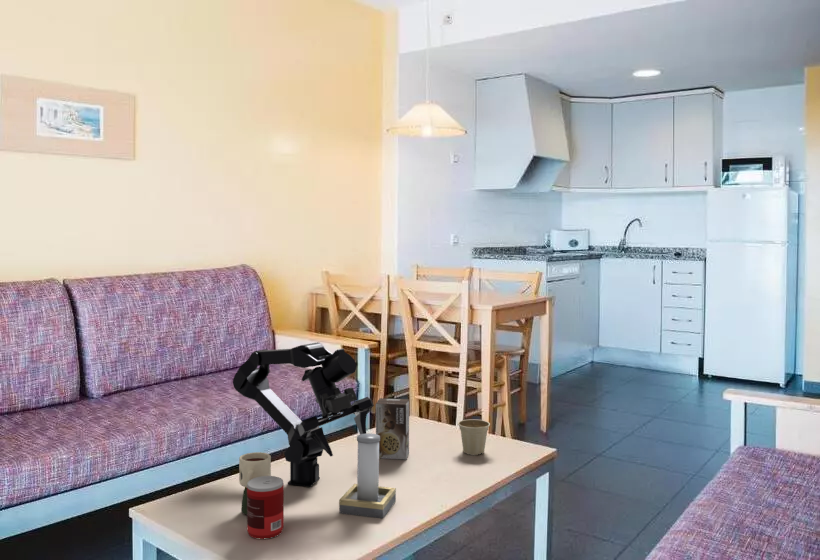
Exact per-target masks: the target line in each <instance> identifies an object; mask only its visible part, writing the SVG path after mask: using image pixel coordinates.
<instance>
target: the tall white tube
mask: <svg viewBox="0 0 820 560" xmlns="http://www.w3.org/2000/svg"><path fill="white" fill-rule="evenodd" d="M356 441H357V467H356V468H357V476H356V477H357V479H356V482H357V483H356V484H357V500H363V501H372V502H375V501H377V500H378V490H379V481H380V480H379V479H380V476H379V475H380V473H379V472H380V471H379V470H380V458H379V441H380V436H379V435H377V434H376V433H367V432H366V434H360V433H359V434H358V435H357V436H356Z"/></svg>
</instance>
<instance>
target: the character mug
mask: <svg viewBox="0 0 820 560" xmlns="http://www.w3.org/2000/svg"><path fill="white" fill-rule="evenodd" d="M238 459H239V460H238V464H239V465H238V466H239V467H238V468H239V469H238V471H239V475H238V476H239V479H238V483H239V484H240V485H241V486H242V487H244V489H243V492H242V498H241V499H242V500H241V508H240V509H241V513H242V514H245V515H247V483H248V482H249V481H250V480H251V479H254V478H257V477H261V476H272V474H271V473H272V472H271V471H272V470H271V469H272V462H271V461H272V460H271V459H272V457H271V454H269V453H268V452H267V453H266V452H261V451H257V452H248V453H245V454H242V455H240V456H239V458H238Z"/></svg>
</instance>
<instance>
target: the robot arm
mask: <svg viewBox="0 0 820 560" xmlns="http://www.w3.org/2000/svg"><path fill="white" fill-rule="evenodd" d="M287 364H289V365H292V366H293V367H297V368H300V369H301V368H302V369H305V370H304V373H303V375H302V377H301V381H302V382H305V381H309V385H310V386H311V389H312V391H313V394H314V396H315V403H316V404H318V407H319V410H320V412H321V417H319V418H317V416H316V415H315V416H312V417H309V418H306V419H304V420H301V418H299V417H298V416H297V414H295V412H293V411H292V410H291V409H290V408H289V406H288V405H287V404H286V403H285V402H284V401H283V400H282V399H281V398H280V397H279V396H278V395H277V394H276V393H275V392H274V391H273V390H272V389H271V388H270V383H269V382H270V381H269V378H268V376H269V374H270V373H271V371H270V365H287ZM311 367H312V368H313V369H311ZM306 368H310V369H306ZM356 370H357V363H356V360H355V359H354V358H353V357H352V355H351V354H349V353H347V352H345V350H344V348H339V349H337V350H335V351H334V352H331V351H330V350H329V349H327V348H325V346H324V345H323V343H321V342H319V341H318V342H313V343H307V344H301V345H297V346H295V347H291V348H282V349H277V348H276V349H266V348H265V349H260V350H259V349H258V350H255V351H253V352H251V353H250V356H249V357H248V359H246V361H245V362H244V363H243V364H242V365H241V366H239V367H238V369H237V371H236V373H234V377H233V378H232V385H233V387H234V390H235V391H236V392H238V393H239V394H240V395H241V396H243V397H245V398H248V399H250V400H253V401H255V402H256V403H257V404H258V405H259V406H260V407H261V409H263V410H264V411H265V412H266V413H267V414H268V415H269V417H270V418H271V420H273V421H274V422H275V423H276V424H277V425H278V427H280V429H282V430H283V432H284V433H285V434H286V435H287V440H288V445H289V447H288V448H287V449H286V450H285V451H284V453H283V455H284V459H285V461H286V462H289V463H290V464H289V465H290V466H289V467H290V469H289V470H290V473H289V474H290V475H289V477H290V478H289V481H288V482H287V485H289V486H290V485H291V486H297V487H298V486H299V487H309V488H310V487H313V486H314V485H315V484H316V483H317V482H319V480H321V479H320V464H319V463H318V457H321V456H322V455H323V452H324V451H325V453H327V454H328V455H329V457H333V456H334V453H333V451H332V449H331V446H330V443H329V441H328V440H327V438H326V435H325V433H324V428H323V427H321V426H323V425H326V424H329V423H332V422H335V421H337V420H340V419H342V418H346V417H348V416H350V415H355V417H353V420H354V423H355V425H356V427H357V431H358V433H359V435H360V434H367V415H368V414H369V413H370V412H371V409H372V408H373V407H375V405H374V402H373V401H372V398H370V397H369V396H366V397H363V398H360V399H358V400H357V395H356V392H355V390H354V388H353V387H347V388H345V389H343V392H341V390H340V388H339V387H338V386H337V385H336V384H337V383H340V382H341V381H342V380H344V379H346V378H347V377H349V376H351V375H352V374H354V373H355V372H356ZM352 402H353V403H352Z"/></svg>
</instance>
